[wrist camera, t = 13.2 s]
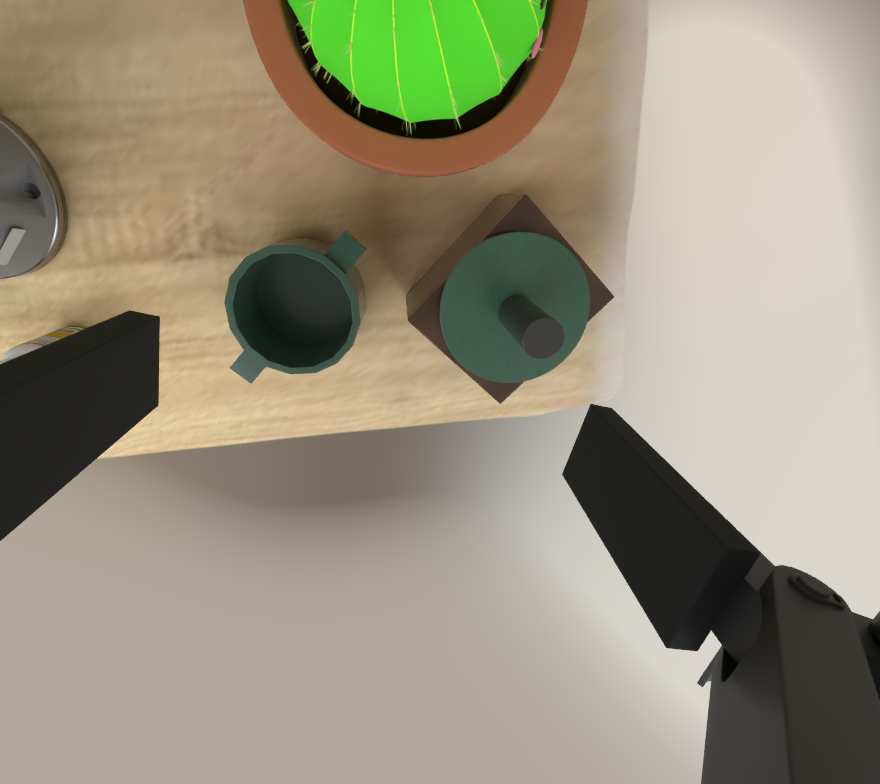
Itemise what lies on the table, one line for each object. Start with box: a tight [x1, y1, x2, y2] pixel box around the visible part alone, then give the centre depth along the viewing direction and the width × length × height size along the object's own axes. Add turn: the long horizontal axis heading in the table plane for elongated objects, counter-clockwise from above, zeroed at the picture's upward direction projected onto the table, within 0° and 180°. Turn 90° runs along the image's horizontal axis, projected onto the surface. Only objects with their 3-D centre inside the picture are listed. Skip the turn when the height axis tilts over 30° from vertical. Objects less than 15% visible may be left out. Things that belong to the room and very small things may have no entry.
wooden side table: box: [406, 194, 614, 404], centre depth 44 cm, size 12×14×11 cm
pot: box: [225, 230, 367, 383], centre depth 44 cm, size 12×17×8 cm
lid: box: [439, 231, 590, 383], centre depth 35 cm, size 13×13×9 cm
